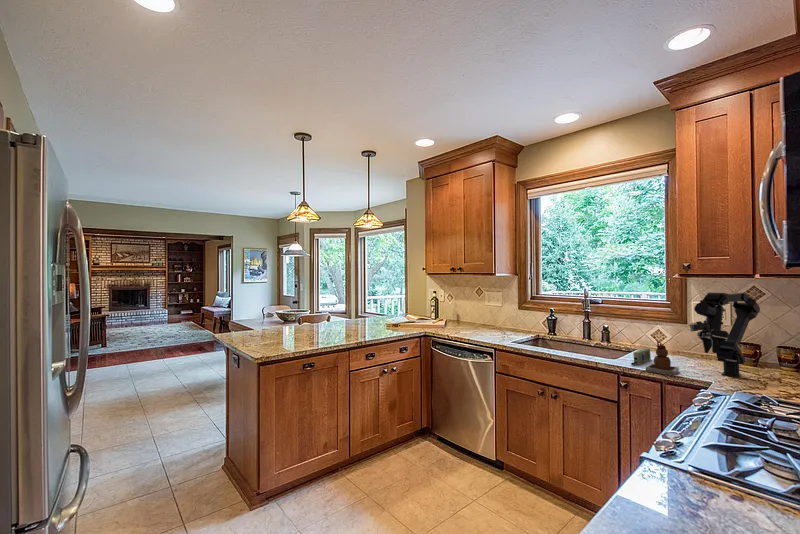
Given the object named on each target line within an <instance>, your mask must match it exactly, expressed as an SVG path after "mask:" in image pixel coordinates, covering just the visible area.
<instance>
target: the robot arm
mask: <svg viewBox="0 0 800 534" xmlns="http://www.w3.org/2000/svg"><path fill="white" fill-rule="evenodd" d="M729 303H732V307H733V308H734V313H735V315H736V318H735V319H734V322H733V324H732V327H731V329H730V330H729V332H728V331H726V330H722V326H723V325H724V322H723V315H724V313H725V312H726V309H725V308H724V307H723V306H726V305H728V304H729ZM760 311H761V307H760V305H759V303H758V302H757V300H754V299H753V298H751V297H749V295H748V293H746V292H733V293H732V292H731V293H726V292H710V291H709V292H707V293H706V295H705V296H704V298H703V299H701V300H699V302H698V303H696V305H695V306H694V312H695V314H696V315H699V316H702V317H706V318H705V319H704V320H703V322H702V321H696V322H695V323H692V324H689V328H690V332H696V331H697V333H696V336H697V337H698V339H699V340H700V341H702V346H703V350H704V354H708V353H709V352H710V350H712V351H711V353H712V354H716V359H717V361H718V362H722V363H723V364H722V365H723V368H722V369H723V372H722V373H721V375H722V376H724V377H725V376H727V377H734V378H741V377H742V374H741V372H740V365H744V364H745V362H746V358H745V357H744V355H743V353H742V348H741V347H740V345H741V342H742V339H743V337H744V334H745V333H746V330H747V328H748V326H749V323H750V321H752V320H753V319H756V318H757V317H758V315H759V313H760Z"/></svg>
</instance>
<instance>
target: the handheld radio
mask: <svg viewBox="0 0 800 534" xmlns="http://www.w3.org/2000/svg"><path fill="white" fill-rule="evenodd" d="M650 359H651V348H650V347H645V348H644V347H643V348H641V349H638V350H636V351H634V352H633V362H631V363H630V364H631V366H635V365H641V364H644V363H646V362H648V361H650Z"/></svg>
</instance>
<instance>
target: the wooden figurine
mask: <svg viewBox="0 0 800 534" xmlns="http://www.w3.org/2000/svg"><path fill="white" fill-rule="evenodd" d="M656 347H657V348H656V350H655V354H656V355H655V356H654V358H653V364H654V365H655V368H657V369H664V370H670V366H672V365H671V364H672V363H671V358H670V357H668V355H669V351H668V349H667V346H666V345H664V343H662V341H660V342H659V341H658V340H656Z"/></svg>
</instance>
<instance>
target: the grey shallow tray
mask: <svg viewBox="0 0 800 534" xmlns="http://www.w3.org/2000/svg"><path fill="white" fill-rule="evenodd" d="M679 369H680V368H679V367H678V366H672V365H670V370H664V369H657V368H655V365H654V363H651V364H649V365H647V366H645V372H648V373H655V374H656V373H657V374H661V375H662V374H663V375H669V376H675V375H676V374H677V373H679Z"/></svg>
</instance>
